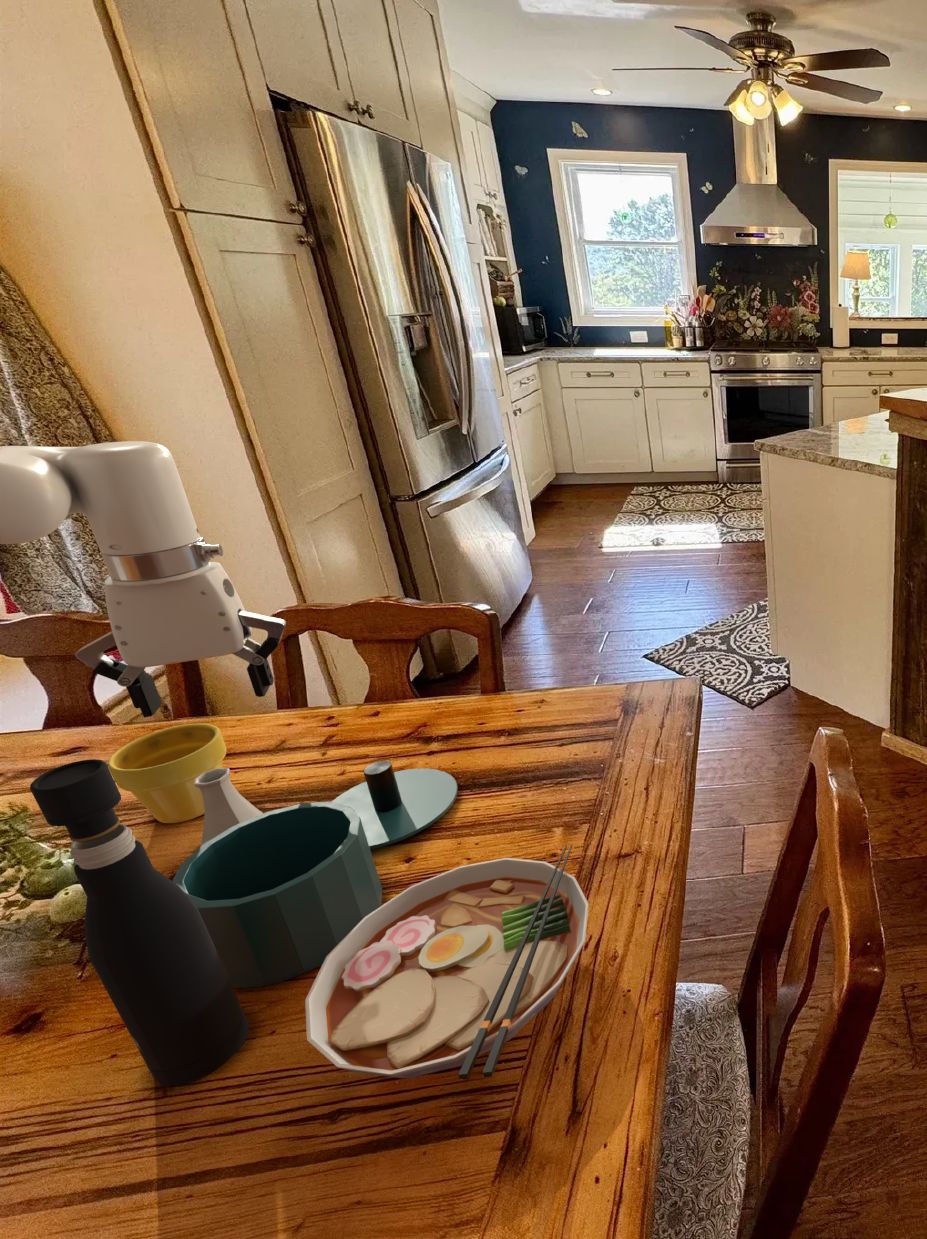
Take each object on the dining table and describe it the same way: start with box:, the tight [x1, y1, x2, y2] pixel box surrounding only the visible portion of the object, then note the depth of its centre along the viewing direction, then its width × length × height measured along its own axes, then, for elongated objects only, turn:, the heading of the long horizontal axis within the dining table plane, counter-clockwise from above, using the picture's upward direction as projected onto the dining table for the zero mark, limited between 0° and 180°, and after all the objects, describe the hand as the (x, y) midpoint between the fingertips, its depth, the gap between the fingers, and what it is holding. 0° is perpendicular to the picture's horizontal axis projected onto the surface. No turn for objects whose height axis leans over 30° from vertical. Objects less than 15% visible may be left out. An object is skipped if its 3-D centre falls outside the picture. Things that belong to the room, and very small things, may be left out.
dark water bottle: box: [29, 758, 250, 1087], centre depth 57 cm, size 6×6×30 cm
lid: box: [331, 760, 459, 850], centre depth 91 cm, size 16×16×7 cm
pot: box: [171, 801, 383, 989], centre depth 73 cm, size 15×15×10 cm
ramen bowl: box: [304, 844, 590, 1081], centre depth 66 cm, size 25×23×8 cm
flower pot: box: [107, 723, 228, 824], centre depth 90 cm, size 10×10×10 cm
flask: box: [194, 767, 264, 847], centre depth 84 cm, size 7×7×10 cm
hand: (210, 701), depth 80 cm, fingers open, 9 cm apart
